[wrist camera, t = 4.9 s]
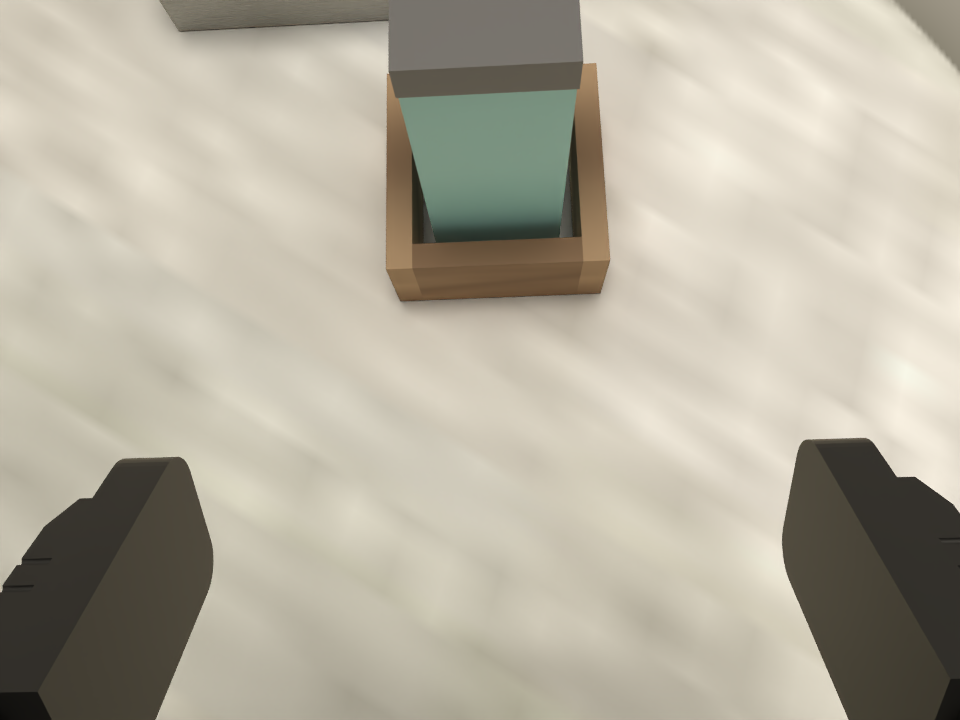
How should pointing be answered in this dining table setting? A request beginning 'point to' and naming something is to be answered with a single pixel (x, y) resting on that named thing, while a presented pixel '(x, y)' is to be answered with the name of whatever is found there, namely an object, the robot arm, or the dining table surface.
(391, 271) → the brown wooden square frame
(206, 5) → the port
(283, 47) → the dining table surface
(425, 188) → the plug
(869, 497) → the robot arm
